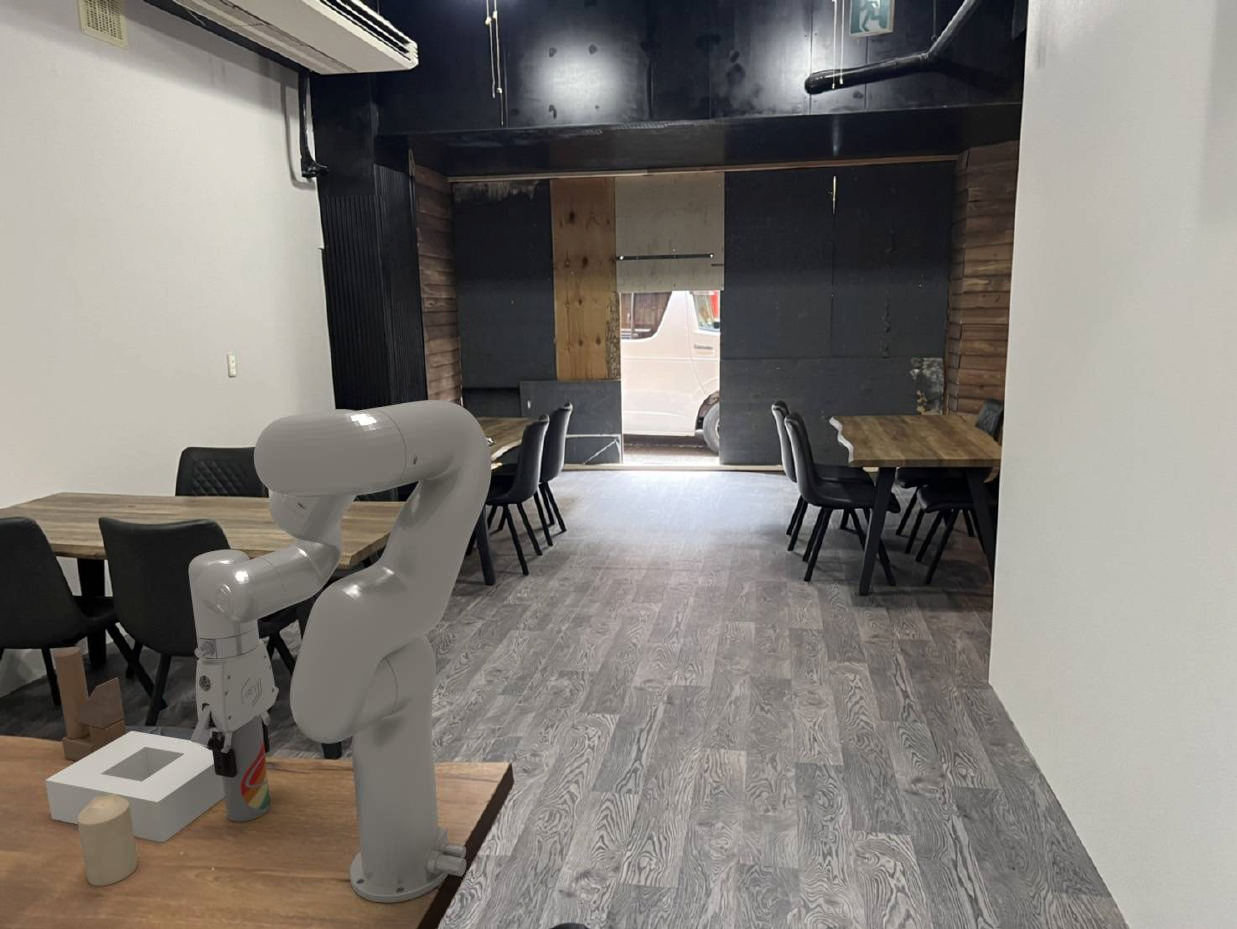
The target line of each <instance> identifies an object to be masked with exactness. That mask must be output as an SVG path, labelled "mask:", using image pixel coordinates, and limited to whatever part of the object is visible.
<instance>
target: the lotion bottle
mask: <svg viewBox="0 0 1237 929" xmlns="http://www.w3.org/2000/svg"><path fill="white" fill-rule="evenodd" d="M228 678H229V677H228ZM222 734H223V733H220V732H219V735H218V740H220V741H222ZM230 749H234V751H235V759H236V768H237V775H236V776H235V777H233V778H230V777H225V776H222V780H223V789H224V804H225V811H226V812H225V813H226V817H228V819H229V820H231V821H233V822H237V823H238V822H248V821H252V820H255V819H257V818H259V817H261V816H263V815H264V814H265V813H266V812H267V811H268V810H269V808H270V805H271V797H270V796H271V795H270V786H269V778H268V777H269V776H268V768H267V767H268V766H267V759H266V753H265V747H264V738H263V729H262V720H261V714H260V715H258V716H256V715H255V716H254V717H253V719H252V720H251V721H249V722H248V723H247V724H245V725H244V726H242V727H241V728H239V729H237V730H236V731H234V732H232V738H231V745H230Z"/></svg>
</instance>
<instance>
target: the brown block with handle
mask: <svg viewBox="0 0 1237 929" xmlns="http://www.w3.org/2000/svg"><path fill="white" fill-rule="evenodd" d="M82 652H83V651H82V649H81V648H80V647H79V646H70V647H63V648H62V649H58V650H57V651H55V652H54V654H53V658H54V665H55V670H56V671H55V672H56V677H57V682H58V689H59V696H60V702H61V708H62V714H63V720H64V726H65V733H66V735H65V736H64V737H62V739H61V741H62V746H63V753H64V757H65V759H69V760H71V761H75V762H78V761H80V760H81V759H83V758H85V757H87V756H88V755H90V754H92V753H94V752H95V751H97V750H99V749H101V748H102V747H104V746H106V745H108V744H109V743H111V742H113V741H115V740H116V739H118V738H120V737H122V736H123V735H125V734H127V729H126V723H125V722H126V721H125V713H124V712H125V711H124V707H123V700H122V699H123V698H122V692H121V687H120V680H119V679H120V678H119V677H115V678H113V679H110V680H108V681H105V682H102V683H101V684H99V685H96V686H95V688H94V689H93V691H92V692H91V694H90V696H89V692H88V687H87V686H88V685H87V684H88V683H87V679H86V673H85V672H86V671H85V667H84V659H83V653H82Z"/></svg>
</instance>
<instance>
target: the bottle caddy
mask: <svg viewBox="0 0 1237 929" xmlns="http://www.w3.org/2000/svg"><path fill="white" fill-rule="evenodd" d="M45 787H46V792H47V798H48V804H49V810H50V817H51V819H52V820H55V821H59V820H60V822H65V823H68V824H69V823H70V824H73V823H74V825H78V820H77V818H78V816H79V814H80V813H81V812H82V810H83V809H84V808H85V807H86V806H87V805H88V804H89V803H90V802H91V801H92V800H93V798H95V797H98V796H100V797H103V796H106V795H108V794H114V795H116V796H119V797H121V798H123V799H126V800H127V801H128V802H129V805H130V812H131V819H132V825H133V832H134V838H140V839H144V840H148V841H153V842H159V843H163V844H164V843H166V841H168V840H169V839H171V838H173V837H174V836H175V835H176V834H178V833H179V832H180V831H182V830H183V829H184V828H185V827H186V826H188V825H190V824H191V823H192V822H193V821H195V820H196V819H197V818H198V817H200V816H201V815H202V814H204V813H205V812H207V811H208V810H209V809H211V808H212V807H213V806H215V805H216V804H217V803H218V802H220V801H221V800H223V799H225V797H224V789H223V780H222V776H219V775H216V774H215V768H214V760H213V752H212V751H211V750H208V749H207V748H205V747H203V746H201V745H198V744H196V743H193V742H191V739H183V738H177V737H171V736H165V735H158V734H152V733H145V732H142V731H141V732H140V731H134V730H131V731H129V732H126V734H125V735H123V736H122V737H120V738H118V739H116V740H115V741H113V742H111V743H109V744H108V745H106V746H104V747H102V748H101V749H99V750H97V751H95V752H94V753H92V754H90V755H88V756H87V757H85V758H83V759H81V760H80V761H75V762H74V763H72V764H70V765H69V766H68V767H66V768H63V769H62V770H61V771H58V772H57V773H55V774H53V775H52V776H49V777H48V778H46V779H45Z"/></svg>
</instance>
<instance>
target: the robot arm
mask: <svg viewBox="0 0 1237 929" xmlns="http://www.w3.org/2000/svg"><path fill="white" fill-rule="evenodd" d="M490 450H491V449H490V446H489V443H488V439H487V436H486V434H485V432H484V430H483V428H482V427H481V424H480V423H479V421H478V420H477V419H476V418H475V416H474V415H473V414H472V413H471V412H470V411H469V410H467V408H464V407H463V406H462V405H460V404H457V403H454V402H452V401H446V400H440V399H439V400H436V399H431V400H429V399H426V400H419V401H411V402H405V403H404V402H403V403H399V404H398V403H397V404H393V405H386V406H380V407H373V408H367V409H361V410H353V409H346V408H344V409H343V408H342V409H340V408H339V409H337V408H336V409H328V410H322V411H315V412H308V413H303V414H295V415H288V416H283V417H279V418H278V419H275V420H274V421H272V422H271V423H270V424H267V426H266V427H265V428H264V429H263V430H262V432H261V433H260V435H259V436H258V437H257V440H256V443H255V447H254V452H253V463H254V469H255V472H256V474H257V476H258V479H259V481H261V483H262V484H263V485H264V486H265V487H266V488H267V489H269V490H270V491H272V493H271V495H270V496H269V497H270V498H269V500H268V511H269V515H270V517H271V519H272V521H273V522H274V523H275V525H276V526H277V527H278V528H279V529H280V530H281V531H282V532H284V533H285V534H288V535H289V536H290V537H293V538H295V539H294V541H293V542H292V543H291V545H290V546H288V547H286V548H282V549H279V550H276V551H273V552H269V553H267V554H263V555H261V556H258V557H254V558H251V559H250V557H249V556H248V554H247V553H246V552H245V551H242V550H238V549H219V550H214V551H213V550H212V551H209V552H205V553H202V554H199V555H198V556H197V555H196V557H194V558H192V560H191V561H190V563H189V566H188V577H189V587H190V593H191V601H192V609H193V616H194V617H193V618H194V624H195V626H194V627H195V633H196V641H197V642H196V643H197V647H196V648H195V649H194V655H195V656H196V658H199V659H198V660H196V673H195V698H196V701H195V702H196V710H197V711H196V713H197V719H198V721H197V724H196V726H195V728H194V730H193V733H192V735H191V737H190V741H191V742H193V743H196V744H198V745H201V746H203V747H205V748H207V749H208V750H211V751H212V752H213V760H214V768H215V774H216V775H219V776H225V777H230V778H233V777H235V776H236V775H237V768H236V759H235V751H234V749H230V745H231V738H232V732H234V731H236V730H237V729H239V728H241V727H242V726H244V725H245V724H247V723H248V722H249V721H251V720H252V719H253V717H254V716H255V715H256V716H258V715H260V714H261V720H262V729H263V738H264V747H265V754H268V753H269V752H270V750H271V747H270V738H269V730H268V725H270V722H271V717H270V714H271V712H272V710H273V707H274V704H275V703H276V700H277V696H278V694H279V688H278V687H277V686H276V684H275V679H274V674H273V673H274V672H273V668H272V664H271V663H272V662H271V660H270V656H269V653H268V650H267V647H266V645H265V642H264V641H263V639H260V635H259V634H260V633H259V625H258V620H260V619H261V618H264V617H267V616H269V615H272V614H274V613H276V612H278V611H281V610H284V609H285V608H288V607H291V606H293V605H295V604H298V603H301V602H303V601H306V600H308V599H310V598H312V597H313V596H315V595H316V594H317V593H318V592H320V590H322V589H323V588H324V586H325V585H326V584H327V582H328V581H329V579H330V578H331V577H332V575H333V573H334V572H335V570H336V569H337V567H338V565H339V564H340V562H341V559H342V556H343V553H344V534H343V531H342V530H343V529H342V527H341V525H340V523H341V521H342V520H343V519H344V516H345V515H346V513H347V512H348V510H349V508H350V507H351V505H352V503H353V502H354V501H355V499H356V497H357V496H362V495H370V494H375V493H380V492H385V491H387V490H391V489H394V488H398V487H403V486H406V485H409V484H413V483H416V482H418V483H416V486H415V488H414V490H413V491H412V492H411V494H410V495H409V496H408V498H407V500H406V501H405V502H404V503H403V505H402V506H401V507H400V509H399V511H398V513H397V515H396V516H395V518H394V521H393V523H392V526H391V530H390V533H389V538H388V540H387V544H386V546H385V549H384V550H383V553H382V555H381V557H380V558H379V559H378V560H377V561H376V562H374V563H373V564H372V565H370V566H368V567H366V568H364V569H362V570H359V571H357V572H354V573H352V574H349V575H346V576H344V577H342V578H340V579H338V580H337V581H334V582H333V583H331V584H330V585H328V587H326V588H325V589H324V590H323V591H322V592H321V594H320V595H319V596H318V597H317V599H316V600H315V602H314V603H313V606H312V607H311V609H310V613H309V616H308V618H307V622H306V625H305V630H304V633H303V636H302V640H301V643H300V647H299V651H298V655H297V657H296V658H297V659H296V662H295V666H294V669H293V672H292V677H291V680H290V689H289V703H290V710H291V714H292V717H293V720H294V722H295V723H296V726H297V728H298V729H299V730H300V732H301V733H302V734H303V735H304V736H305V737H306V738H308V739H309V740H312V741H313V742H316V743H320V744H336V743H339V742H343V741H346V740H348V739H349V738H351V737H352V738H351V758H352V772H353V782H354V792H355V793H354V794H355V803H356V813H357V814H356V815H357V827H358V833H359V846H360V851H359V852H358V853H357V854H356V855H355V857H354V859H353V860H352V862H351V863H350V864H351V865H350V867H349V881H350V885H351V887H352V889H353V891H354V892H355V893H356V894H357V895H358V896H360V897H362V898H363V899H365V900H369V901H372V902H377V903H382V904H383V903H385V904H386V903H397V902H398V903H399V902H405V901H408V900H412V899H415V898H418V897H420V896H422V895H424V894H426V893H428V892H430V891H432V890H434V889H435V888H437V886H439V885H440V884H441V883H442V882H443V881H444V880H445V879H447V876H448V875H452V876H457V877H463V875H464V874H465V872H466V868H467V860H466V859H465V856H466V854H467V848H466V847H465V846H461V845H456V844H455V845H453V844H451V842H450V841H449V840H448V831H447V830H448V829H447V828H442V827H439V826H440V825H439V812H438V801H437V800H438V799H437V789H436V788H437V786H436V785H437V784H436V775H435V763H434V741H433V724H432V723H433V720H432V718H433V716H432V714H433V713H432V711H433V710H432V709H433V697H434V691H435V684H436V682H435V681H436V673H437V672H436V670H437V667H436V656H435V652H434V649H433V647H432V646H433V645H432V644H431V642H430V641H429V639H428V637H427V636H426V634H428V633H429V632H430V631H432V630H433V629H435V627H437V626H438V625H439V624H440V622H441V621H442V619H443V617H444V614H445V611H446V609H447V607H448V603H449V602H450V598H451V595H452V594H453V590H454V587H455V585H456V581H457V578H458V576H459V573H460V570H461V568H462V564H463V561H464V560H465V559H464V557H465V554H466V551H467V548H468V546H469V542H470V539H471V537H472V534H473V532H474V529H475V526H476V524H477V522H478V521H479V518H480V515H481V513H482V512H483V511H482V510H483V508H484V505H485V503H486V500H487V497H488V493H489V490H490V485H491V480H492V479H491V478H492V457H491V451H490ZM228 677H229V678H228ZM219 732H220V733H223V734H222V741H220V740H218V735H219Z"/></svg>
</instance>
